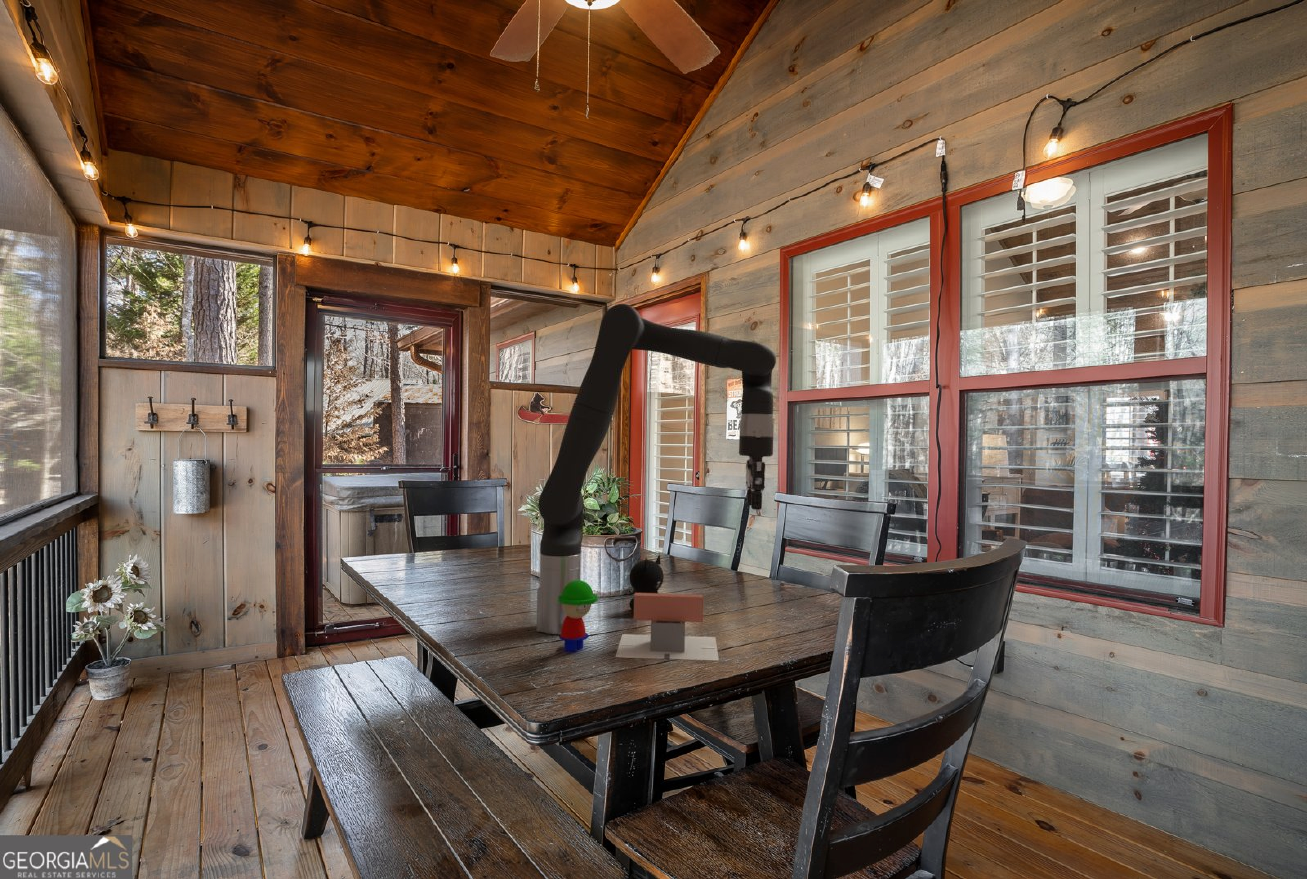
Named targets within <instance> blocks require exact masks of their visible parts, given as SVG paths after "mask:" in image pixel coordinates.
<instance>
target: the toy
mask: <svg viewBox="0 0 1307 879" xmlns="http://www.w3.org/2000/svg"><path fill="white" fill-rule="evenodd" d="M558 601H559V602H560V603H562V608H563V611H564V612H565V614H566V615H567V616H566V618H565V619H564V622H563V624H562V629H561V634H558V637H559V639H560V640H562V641H564V642H563V643H564V650H563V651H564V653H569V654H570V653H576V652H577V651H579V650H583V649H584V640H587V639H588V638H589V634H588V633H587V632H586V625H585V622H584V620H583V617H585V616H586V615H587V614H588V613H589V612H590V611H591V608H592V604H594V603H598V601H599V598H598V595H597V594H595V593H594V591H593V588H592V587H591V585H590V584H589V583H588V582H586V581H585V580H575V581H572V582H570V583H568V584H567V585H566V586H565V588H564V589H563V592H562V594H561V595H559V596H558Z"/></svg>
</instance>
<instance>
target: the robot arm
mask: <svg viewBox="0 0 1307 879" xmlns="http://www.w3.org/2000/svg"><path fill="white" fill-rule="evenodd" d="M632 350H634V351H635V350H636V351H646V352H647V351H648V352H654V353H659V354H664V355H667V356H668V355H670V356H674V357H677V358H680V359H684V360H687V361H691V362H694V363H698V364H701V365H706V366H711V367H715V368H719V369H732V370H735V371H736V370H737V371H739V372H741V381H742V382H741V384H742V394H741V395H742V396H741V408H740V409H741V410H740V411H741V415H740V422H739V435H738V436H739V438H738V439H739V440H738V454H739V456H741V457H742V456H745V457H748V459H747V460H746V464H745V484H746V489H747V499H746V501H747V505H748V506H751V509H752V510H757V511H758V510H762V508H763V507H762V506H763V493H764V490H765V488H766V487H765V486H766V485H765V481H766V475H765V474H766V473H765V472H766V463H765V461H763V458H764V457H767V458H768V457H772V456H773V455H774V430H775V428H774V427H775V426H774V393H773V390H772V381H773V380H772V377H773V375H772V374H773V370H774V369H775V366H776V364H777V357H776V353H775V351H774V350H773V349H772V348H771V347H770V346H769V345H766V344H763V343H761V342H755V341H749V340H741V339H734V338H730V337H727V336H724V335H723V336H722V335H720V334H719V335H718V334H714V333H711V332H707V331H701V330H695V329H686V328H677V327H670V326H665V325H662V324H660V323H659V324H658V323H655V322H653V321H651V320H647V319H645V318H643V317H642V316H641V315H640V313H639V312H638V311H637V310H636V309H635V307H633V306H632V305H630V304H626V303H618V304H615V305H613V306H611V307H610V308H608V309H607V310H606V311H605V313H604V314H603V316H602V319H601V321H600V325H599V330H598V334H597V338H596V344H595V346H594V351H593V354H592V358H591V361H590V363H589V366H588V367H587V370H586V373H585V374H584V377H583V379H582V382H581V385H580V387H579V389H578V391H577V393H576V396H575V399H574V402H573V404H572V408H571V411H570V414H569V416H568V418H567V423H566V425H565V428H564V433H563V435H562V439H561V443H560V447H559V450H558V454H557V457H556V461H555V463H554V465H553V468H552V470H551V472H550V474H549V475H548V476H549V477H548V478H547V481H546V483H545V485H544V487H543V489H542V491H541V493H540V495H539V497H538V501H537V503H538V511H539V514H540V516H541V517H542V519H543V531H542V537H541V539H540V543H539V546H540V547H539V587H538V588H537V590H536V629H535V630H536V632H540V633H545V634H548V635H560V634H561V629H562V624H563V622H564V619H565V618H566V616H567V615H566V614H565V612H564V611H563V608H562V603H560V602H559V601H558V596H559V595H561V594H562V592H563V589H564V588H565V586H566V585H567V584H568V583H570V582H572V581H575V580H581V573H582V572H581V570H582V568H581V567H582V565H581V564H582V563H581V562H582V543H583V538H584V537H583V536H584V516H585V514H584V513H585V512H584V511H585V510H584V508H585V507H584V506H585V503H584V502H585V500H584V496H583V493H582V490H583V486H584V482H585V479H586V476H587V473H588V471H589V468H590V466H591V464H592V463H593V460H594V459H595V456H596V455H597V453H598V451H599V449H600V447H601V446H602V444H603V442H604V440H605V438H606V436H607V434H608V431H609V428H610V425H611V422H612V421H613V418H614V413H615V410H616V406H617V402H618V397H619V392H620V388H621V387H620V385H621V381H622V375H623V371H624V368H625V365H626V362H627V360H628V358H629V355H630V353H631V351H632ZM581 581H582V580H581Z"/></svg>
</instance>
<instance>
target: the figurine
mask: <svg viewBox="0 0 1307 879" xmlns="http://www.w3.org/2000/svg"><path fill="white" fill-rule="evenodd" d="M629 572H630V573H629V583H630V585H631V587H632V589H633V595H634V594H635V593H659V590H660V588H661V587H662V585H663V582H664V578H665V577H664V571H663V569H662V567H661V553H659V554H658V556H657V558H656V560H655V561H653V560H650V559H648V558H647V557H645V559H643V560H640V561H637V562H636V563H635V564H634V565H633V566H632V568H631V569H630V571H629ZM628 604H629V608H630V610H632V611H633V612H634V597H633V598H631V599H630V601H629V603H628Z"/></svg>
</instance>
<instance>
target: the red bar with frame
mask: <svg viewBox="0 0 1307 879" xmlns="http://www.w3.org/2000/svg"><path fill="white" fill-rule="evenodd" d="M633 598H634V611H633V621H648V622H649V621H650V635H651V643H650V651H657V652H685V636H686V623H703V622H704V594H691V593H690V594H689V593H659V592H658V593H635V594H634V593H633ZM660 621H677V623H659V622H660Z"/></svg>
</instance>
